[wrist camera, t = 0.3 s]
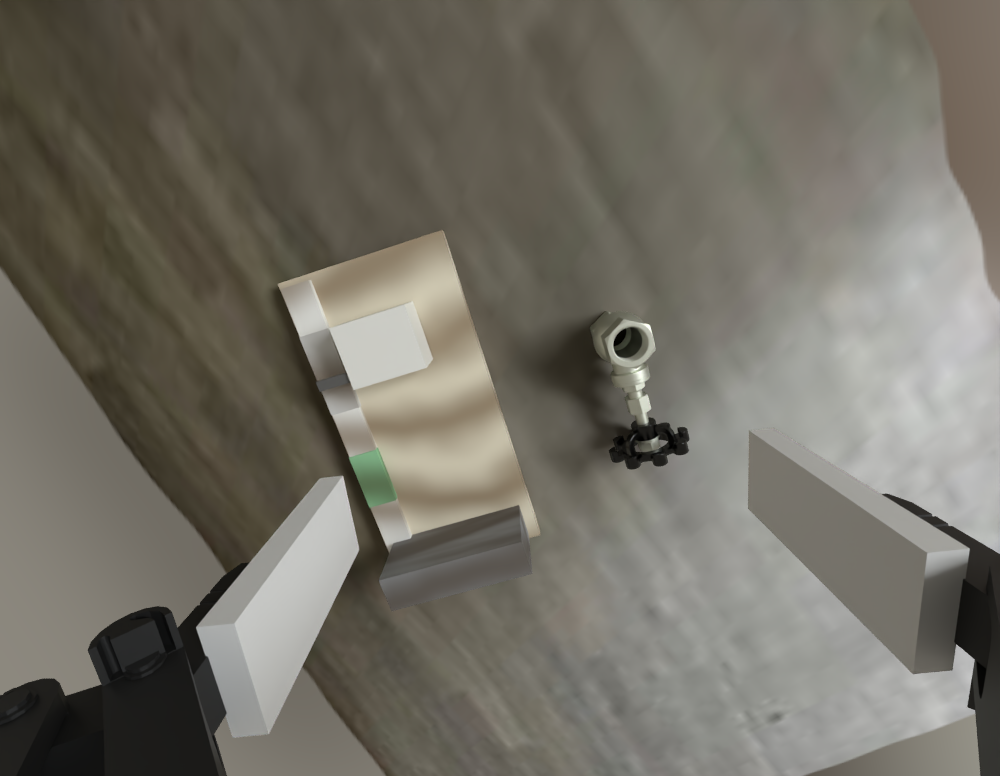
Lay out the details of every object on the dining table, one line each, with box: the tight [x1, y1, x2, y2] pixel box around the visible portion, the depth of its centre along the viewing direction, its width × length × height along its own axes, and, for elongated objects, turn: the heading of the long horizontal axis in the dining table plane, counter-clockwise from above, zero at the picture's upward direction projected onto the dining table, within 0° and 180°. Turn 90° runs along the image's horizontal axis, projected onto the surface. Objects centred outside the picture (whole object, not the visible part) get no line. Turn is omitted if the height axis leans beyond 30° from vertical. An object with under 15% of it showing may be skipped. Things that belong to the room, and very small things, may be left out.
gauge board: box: [278, 230, 540, 611], centre depth 39 cm, size 28×14×7 cm, turn 17°
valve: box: [590, 311, 689, 469], centre depth 39 cm, size 7×7×12 cm
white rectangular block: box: [316, 301, 433, 392], centre depth 38 cm, size 5×9×4 cm, turn 107°
